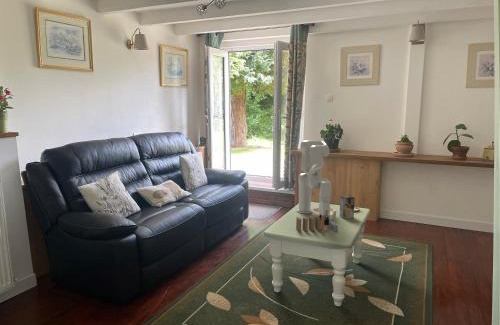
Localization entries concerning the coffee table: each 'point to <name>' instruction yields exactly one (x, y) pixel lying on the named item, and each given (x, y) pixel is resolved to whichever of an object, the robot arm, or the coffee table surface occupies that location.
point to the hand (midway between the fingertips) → (324, 222)
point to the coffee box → (347, 207)
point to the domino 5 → (323, 227)
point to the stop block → (333, 226)
